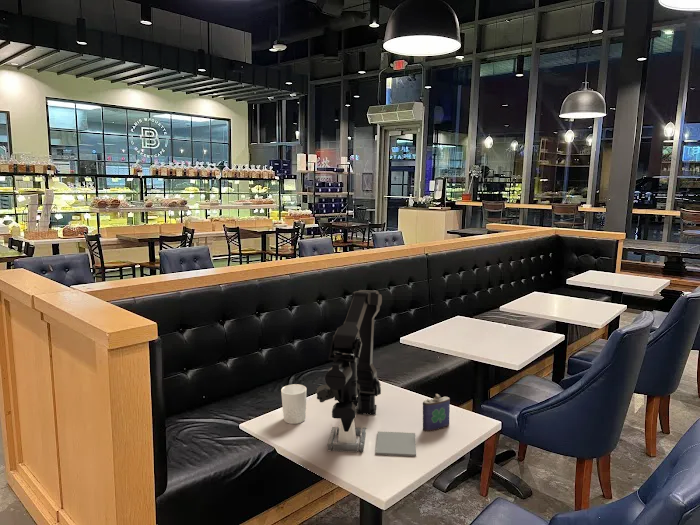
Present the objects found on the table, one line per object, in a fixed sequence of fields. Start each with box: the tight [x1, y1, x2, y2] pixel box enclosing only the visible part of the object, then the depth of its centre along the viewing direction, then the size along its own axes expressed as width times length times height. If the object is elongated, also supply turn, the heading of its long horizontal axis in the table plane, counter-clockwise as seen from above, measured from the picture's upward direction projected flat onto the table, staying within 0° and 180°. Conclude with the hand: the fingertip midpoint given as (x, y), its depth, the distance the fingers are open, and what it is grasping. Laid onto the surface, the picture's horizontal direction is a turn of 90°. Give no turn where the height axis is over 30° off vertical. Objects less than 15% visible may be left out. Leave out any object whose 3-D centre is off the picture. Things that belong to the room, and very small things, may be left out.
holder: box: [327, 426, 367, 453], centre depth 150 cm, size 10×10×2 cm
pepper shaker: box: [337, 418, 357, 443], centre depth 150 cm, size 5×5×11 cm
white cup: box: [280, 383, 307, 425], centre depth 164 cm, size 8×8×10 cm
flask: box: [422, 393, 451, 433], centre depth 158 cm, size 9×3×11 cm, turn 114°
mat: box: [375, 430, 417, 457], centre depth 149 cm, size 12×11×1 cm
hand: (347, 427), depth 150 cm, fingers closed on pepper shaker, 4 cm apart
